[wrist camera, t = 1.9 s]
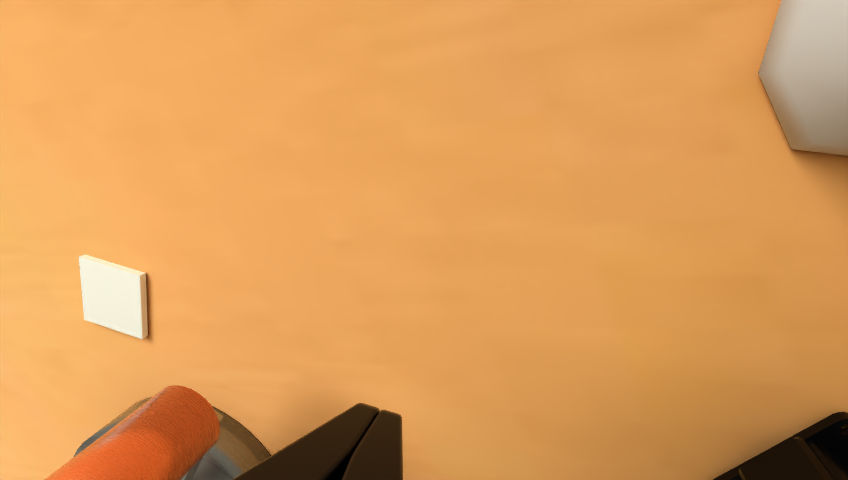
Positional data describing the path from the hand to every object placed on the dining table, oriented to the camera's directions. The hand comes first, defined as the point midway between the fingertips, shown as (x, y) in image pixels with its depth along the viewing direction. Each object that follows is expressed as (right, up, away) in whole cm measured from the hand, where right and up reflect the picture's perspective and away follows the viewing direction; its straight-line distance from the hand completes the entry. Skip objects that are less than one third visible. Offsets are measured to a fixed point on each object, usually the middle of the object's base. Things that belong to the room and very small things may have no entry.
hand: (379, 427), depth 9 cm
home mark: (-17, 0, +17) cm, 24 cm away
